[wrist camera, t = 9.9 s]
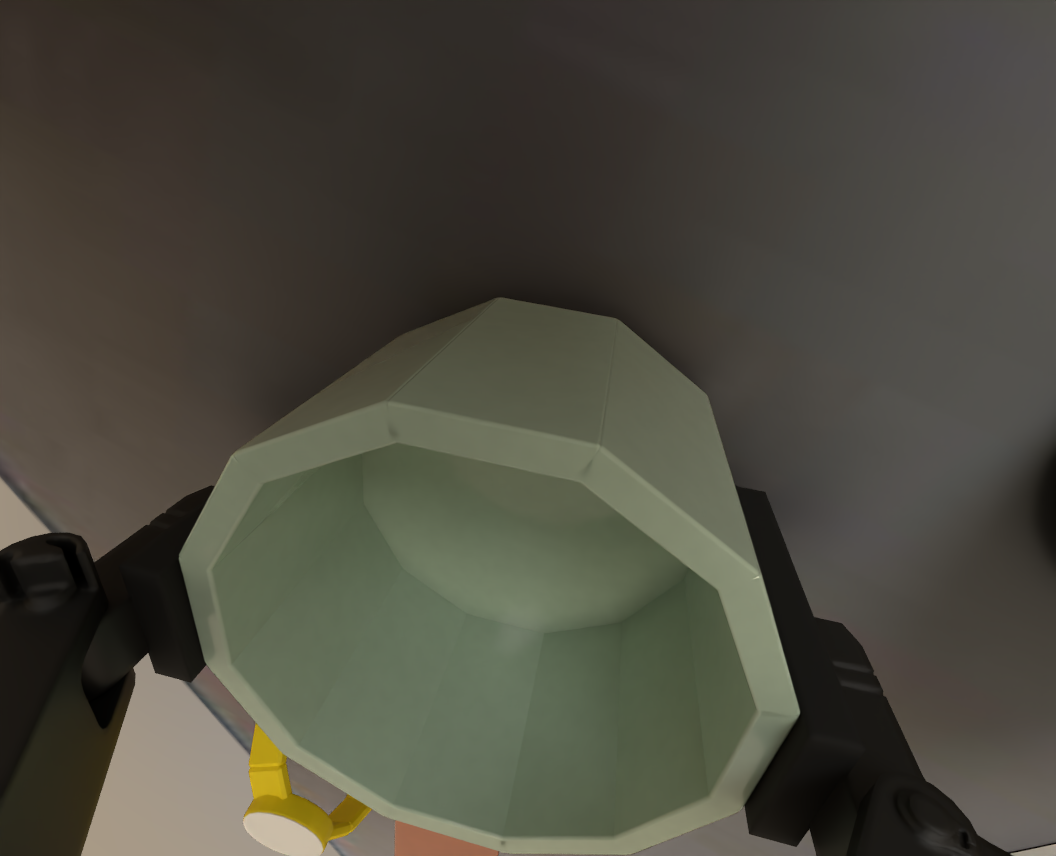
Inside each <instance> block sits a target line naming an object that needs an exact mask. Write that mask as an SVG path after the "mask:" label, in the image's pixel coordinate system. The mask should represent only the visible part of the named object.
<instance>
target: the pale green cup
mask: <svg viewBox="0 0 1056 856" xmlns="http://www.w3.org/2000/svg"><path fill="white" fill-rule="evenodd" d="M179 563H180V567H181V571H182V575H183V579H184V583H185V587H186V591H187V595H188V599H189V603H190V607H191V611H192V615H193V619H194V623H195V627H196V631H197V635H198V638H199V642H200V646H201V650H202V654H203V658H204V661H205V662H206V665H207V666H208V668H209V669H210V670H211V671H212V672H213V673H214V675H215V676H216V677H217V678H218V679H219V680H220V682H221V683H222V684H223V685H224V686H225V687H226V689H227V690H228V691H229V692H230V693H231V694H232V696H233V697H234V698H235V699H236V700H237V701H238V703H239V704H240V705H241V706H242V707H243V708H244V710H245V711H246V712H247V713H248V714H249V715H250V717H251V718H252V719H253V720H254V721H255V722H256V724H257V725H258V726H259V727H260V728H261V729H262V731H263V732H264V733H265V734H266V735H267V736H268V738H269V739H270V740H271V741H272V742H273V743H274V745H275V746H276V747H277V748H278V749H279V750H280V751H281V752H282V754H284V755H285V756H287V757H289V758H290V759H292V760H293V761H295V762H297V763H298V764H300V765H302V766H303V767H305V768H306V769H308V770H310V771H311V772H313V773H314V774H316V775H318V776H319V777H321V778H323V779H324V780H326V781H327V782H329V783H331V784H332V785H334V786H336V787H337V788H339V789H340V790H342V791H344V792H345V793H347V794H349V795H350V796H352V797H353V798H355V799H357V800H358V801H360V802H361V803H363V804H365V805H366V806H368V807H370V808H371V809H373V810H374V811H376V812H378V813H379V814H381V815H383V816H384V817H388V818H390V819H393V820H395V851H394V856H498V855H499V851H500V852H503V853H508V854H584V855H629V854H635V853H637V852H640V851H642V850H645V849H647V848H650V847H652V846H655V845H657V844H660V843H662V842H665V841H668V840H670V839H673V838H675V837H678V836H680V835H683V834H685V833H688V832H690V831H693V830H696V829H698V828H701V827H703V826H706V825H708V824H711V823H713V822H716V821H718V820H721V819H723V818H726V817H729V816H731V815H734V814H736V813H738V812H739V811H741V810H742V808H743V807H744V805H745V803H746V802H747V800H748V799H749V797H750V795H751V794H752V792H753V791H754V789H755V787H756V786H757V784H758V783H759V781H760V779H761V778H762V776H763V774H764V773H765V771H766V770H767V768H768V766H769V765H770V763H771V762H772V760H773V758H774V757H775V755H776V754H777V752H778V750H779V749H780V747H781V745H782V744H783V742H784V741H785V739H786V737H787V736H788V734H789V733H790V731H791V729H792V728H793V726H794V725H795V723H796V721H797V720H798V718H799V715H800V708H799V704H798V700H797V697H796V693H795V690H794V686H793V683H792V679H791V676H790V672H789V669H788V665H787V661H786V658H785V654H784V651H783V647H782V644H781V640H780V637H779V633H778V630H777V626H776V622H775V619H774V615H773V612H772V608H771V605H770V601H769V598H768V594H767V590H766V587H765V583H764V580H763V576H762V573H761V570H760V566H759V563H758V560H757V556H756V553H755V550H754V546H753V543H752V540H751V537H750V533H749V530H748V527H747V523H746V520H745V517H744V513H743V510H742V507H741V503H740V500H739V497H738V494H737V490H736V487H735V484H734V480H733V477H732V474H731V470H730V467H729V464H728V460H727V457H726V454H725V451H724V447H723V444H722V441H721V437H720V434H719V431H718V427H717V424H716V421H715V417H714V414H713V411H712V408H711V404H710V401H709V398H708V396H707V395H706V393H704V392H703V391H702V390H701V389H700V388H699V387H697V386H696V385H695V384H694V383H693V382H691V381H690V380H689V379H688V378H687V377H686V376H684V375H683V374H682V373H681V372H680V371H679V370H677V369H676V368H675V367H674V366H673V365H672V364H670V363H669V362H668V361H667V360H666V359H665V358H663V357H662V356H661V355H660V354H659V353H657V352H656V351H655V350H654V349H653V348H652V347H650V346H649V345H648V344H647V343H646V342H645V341H643V340H642V339H641V338H640V337H639V336H638V335H636V334H635V333H634V332H633V331H632V330H631V329H629V328H628V327H627V326H626V325H625V324H623V323H622V322H621V321H620V320H618V319H616V318H612V317H606V316H601V315H595V314H589V313H584V312H578V311H573V310H567V309H562V308H556V307H551V306H545V305H540V304H534V303H529V302H523V301H518V300H512V299H507V298H501V297H500V298H495V299H492V300H490V301H487V302H484V303H482V304H479V305H477V306H474V307H472V308H469V309H466V310H464V311H461V312H459V313H456V314H453V315H451V316H448V317H446V318H443V319H441V320H438V321H435V322H433V323H430V324H428V325H425V326H422V327H420V328H417V329H415V330H412V331H410V332H407V333H404V334H402V335H400V336H399V337H397V338H396V339H394V340H393V341H391V342H390V343H389V344H387V345H386V346H384V347H383V348H381V349H380V350H379V351H377V352H376V353H374V354H373V355H371V356H370V357H369V358H367V359H366V360H364V361H363V362H362V363H360V364H359V365H357V366H356V367H354V368H353V369H352V370H350V371H349V372H347V373H346V374H344V375H343V376H342V377H340V378H339V379H337V380H336V381H334V382H333V383H332V384H330V385H329V386H327V387H326V388H324V389H323V390H322V391H320V392H319V393H317V394H316V395H315V396H313V397H312V398H310V399H309V400H307V401H306V402H305V403H303V404H302V405H300V406H299V407H297V408H296V409H295V410H293V411H292V412H290V413H289V414H287V415H286V416H285V417H283V418H282V419H280V420H279V421H278V422H276V423H275V424H273V425H272V426H270V427H269V428H268V429H266V430H265V431H263V432H262V433H260V434H259V435H258V436H256V437H255V438H253V439H252V440H250V441H249V442H248V443H246V444H245V445H243V446H242V447H240V448H239V449H238V450H236V451H235V452H234V453H233V454H232V455H231V457H230V459H229V461H228V463H227V464H226V466H225V468H224V470H223V472H222V474H221V476H220V478H219V480H218V481H217V483H216V485H215V487H214V489H213V491H212V493H211V495H210V497H209V498H208V500H207V502H206V504H205V506H204V508H203V510H202V512H201V514H200V515H199V517H198V519H197V521H196V523H195V525H194V527H193V529H192V531H191V532H190V534H189V536H188V538H187V540H186V542H185V544H184V546H183V548H182V549H181V551H180V553H179Z"/></svg>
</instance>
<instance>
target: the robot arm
mask: <svg viewBox="0 0 1056 856" xmlns="http://www.w3.org/2000/svg"><path fill="white" fill-rule="evenodd" d="M214 487H215V486H209V487H206V488H204V489H202V490H199V491H197V492H195V493H192V494H190V495H187V496H186V497H184V498H183V499H181V500H180V501H179V502H177V503H176V504H174V505H173V506H172V507H170V508H169V509H168V510H167V511H166V513H162V514H161V515H159V516H158V517H157V518H155V519H154V520H152V521H151V522H150V525H145V526H144V527H143V528H141V529H140V530H139V531H137V532H136V533H134V534H133V535H132V536H130V537H129V538H128V539H126V540H125V541H123V542H122V543H121V544H119V545H118V546H116V547H115V548H114V549H112V550H111V551H110V552H108V553H107V554H105V555H104V556H103V557H101V558H100V559H99V560H97V561H96V562H93V559H92V556H91V554H90V551H89V548H88V546H87V543H86V542H85V541H84V539H83V538H82V537H81V536H79V535H75V534H72V533H48V534H43V535H39V536H33V537H30V538H27V539H24V540H22V541H19V542H16V543H14V544H11V545H10V546H8V547H6V548H4V549H2V550H1V551H0V856H81V853H82V850H83V847H84V844H85V841H86V837H87V834H88V831H89V828H90V825H91V822H92V818H93V815H94V812H95V809H96V806H97V803H98V800H99V796H100V793H101V790H102V787H103V784H104V781H105V777H106V774H107V771H108V768H109V765H110V762H111V758H112V755H113V752H114V749H115V746H116V743H117V739H118V736H119V733H120V730H121V727H122V724H123V721H124V717H125V714H126V711H127V708H128V705H129V702H130V698H131V695H132V692H133V689H134V686H135V672H134V669H133V667H134V666H135V665H136V664H137V663H138V662H139V661H140V660H141V659H142V658H143V657H144V656H145V655H146V654H147V653H149V656H150V659H151V662H152V664H153V667H154V670H155V673H158V674H161V675H165V676H169V677H173V678H177V679H180V680H183V681H187V682H192V681H193V680H194V678H195V677H196V676H197V675H198V674H199V673H200V672H201V670H202V669H203V668H204V667H205V666H206V662H205V661H204V658H203V654H202V650H201V646H200V642H199V638H198V635H197V631H196V627H195V623H194V619H193V615H192V611H191V607H190V603H189V599H188V595H187V591H186V587H185V583H184V579H183V575H182V571H181V567H180V563H179V553H180V551H181V549H182V548H183V546H184V544H185V542H186V540H187V538H188V536H189V534H190V532H191V531H192V529H193V527H194V525H195V523H196V521H197V519H198V517H199V515H200V514H201V512H202V510H203V508H204V506H205V504H206V502H207V500H208V498H209V497H210V495H211V493H212V491H213V489H214ZM735 487H736V490H737V494H738V497H739V500H740V503H741V507H742V510H743V513H744V517H745V520H746V523H747V527H748V530H749V533H750V537H751V540H752V543H753V546H754V550H755V553H756V556H757V560H758V563H759V566H760V570H761V573H762V576H763V580H764V583H765V587H766V590H767V594H768V598H769V601H770V605H771V608H772V612H773V615H774V619H775V622H776V626H777V630H778V633H779V637H780V640H781V644H782V647H783V651H784V654H785V658H786V661H787V665H788V669H789V672H790V676H791V679H792V683H793V686H794V690H795V693H796V697H797V700H798V704H799V708H800V715H799V718H798V720H797V721H796V723H795V725H794V726H793V728H792V729H791V731H790V733H789V734H788V736H787V737H786V739H785V741H784V742H783V744H782V745H781V747H780V749H779V750H778V752H777V754H776V755H775V757H774V758H773V760H772V762H771V763H770V765H769V766H768V768H767V770H766V771H765V773H764V774H763V776H762V778H761V779H760V781H759V783H758V784H757V786H756V787H755V789H754V791H753V792H752V794H751V795H750V797H749V799H748V800H747V802H746V803H745V811H746V817H747V823H748V829H749V834H751V835H755V836H758V837H762V838H766V839H769V840H773V841H777V842H780V843H784V844H788V845H791V846H795V847H797V845H798V844H799V842H800V841H801V840H802V838H803V837H804V836H805V834H806V833H807V831H808V830H809V829H810V832H811V836H812V840H813V844H814V847H815V851H816V855H817V856H1013V855H1011V854H1009V853H1008V852H1006V851H1004V850H1002V849H1000V848H998V847H996V846H995V845H993V844H991V843H989V842H988V841H986V840H985V839H983V838H981V837H980V836H978V835H977V833H976V831H975V830H974V828H973V826H972V824H971V822H970V820H969V819H968V818H967V817H966V816H965V815H964V813H963V812H962V811H961V810H960V809H959V808H958V807H957V805H956V804H955V803H954V802H953V801H952V800H951V799H950V798H949V797H947V796H946V795H945V794H944V793H942V792H941V791H940V790H939V789H937V788H936V787H935V786H934V785H932V784H930V783H928V782H926V781H925V779H924V777H923V775H922V773H921V771H920V769H919V767H918V765H917V763H916V760H915V758H914V756H913V754H912V752H911V750H910V748H909V745H908V743H907V741H906V739H905V737H904V735H903V733H902V730H901V728H900V726H899V724H898V722H897V720H896V718H895V715H894V713H893V711H892V709H891V707H890V705H889V703H888V700H887V698H886V697H885V696H883V690H882V688H881V685H880V683H879V681H878V679H877V677H876V676H874V675H873V672H874V670H873V668H872V666H871V664H870V662H869V660H868V658H867V655H866V653H865V651H864V649H863V647H862V646H861V644H860V643H859V642H858V641H857V640H856V639H855V638H854V637H853V635H852V634H851V633H850V632H849V631H848V630H847V629H846V627H845V626H844V625H843V624H842V623H838V622H833V621H829V620H824V619H820V618H815V617H814V616H813V614H812V611H811V609H810V606H809V603H808V601H807V598H806V596H805V593H804V591H803V588H802V585H801V583H800V580H799V578H798V575H797V573H796V570H795V567H794V565H793V562H792V560H791V557H790V555H789V552H788V549H787V547H786V544H785V542H784V539H783V537H782V534H781V531H780V529H779V526H778V524H777V521H776V519H775V516H774V514H773V511H772V508H771V506H770V503H769V501H768V498H767V496H766V493H765V492H762V491H757V490H752V489H747V488H742V487H737V486H735Z"/></svg>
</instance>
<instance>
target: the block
mask: <svg viewBox="0 0 1056 856" xmlns="http://www.w3.org/2000/svg"><path fill="white" fill-rule="evenodd" d="M1011 855H1013V856H1056V844H1054V845H1049V846H1044V847H1040V848H1035V849H1030V850H1025V851H1020V852H1016V853H1011Z"/></svg>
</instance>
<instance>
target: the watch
mask: <svg viewBox="0 0 1056 856" xmlns="http://www.w3.org/2000/svg"><path fill="white" fill-rule="evenodd" d="M286 759H287V756H285V755H284V754H282V752H281V751H280V750H279V749H278V748H277V747H276V746H275V745H274V743H273V742H272V741H271V740H270V739H269V738H268V736H267V735H266V734H265V733H264V732H263V731H262V729H261V728H260V727H259V726H258V725H257V724H256V725H255V730H254V736H253V742H252V748H251V754H250V759H249V766H250V769H249V777H250V782H251V787H252V792H253V797H254V799H253V801H252V803H251V805H250V806H249V808H248V810H247V812H246V813H245V815H244V820H243V824H244V827H245V829H246V831H247V832H248V833H249V834H250V835H251V836H252V837H253V838H254V839H255V840H257V841H258V842H259V843H261V844H262V845H264V846H266V847H268V848H270V849H272V850H274V851H276V852H279V853H281V854H284V855H288V856H319V855H321V854H322V853H323V851H324V849H325V847H326V845H327V843H328V841H329V840H332V839H336V838H339V837H343V836H346V835H348V834H349V832H352V831H353V830H354V829H355V828H356V827H357V826H358V825H359V823H360V822H361V821H362V820H363V819H364V818H365V817H366V816H367V814H368V813H369V812H370V811H371V810H372V809H371V808H370V807H368V806H366V805H365V804H363V803H361V802H360V801H358V800H357V799H355V798H353V797H352V796H350V795H349V794H347V796H346V799H344V800H343V801H342V802H341V803H340V804H339V806H338V807H337V808H336V809H335V810H334V811H333V812H332V813H331V814H330V815H329V816H328V815H327V813H326V812H324V811H323V810H322V809H321V808H320V807H318V806H317V805H315V804H314V803H312V802H310V801H309V800H307V799H305V798H302V797H300V796H297V795H295V794H292V790H291V785H290V780H289V775H288V770H287V765H286Z"/></svg>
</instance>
